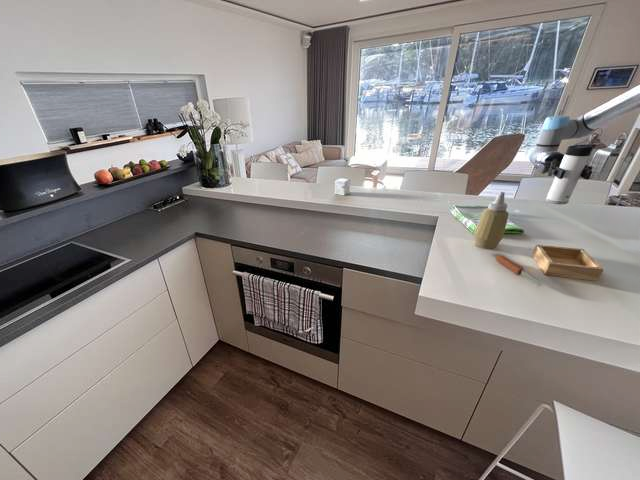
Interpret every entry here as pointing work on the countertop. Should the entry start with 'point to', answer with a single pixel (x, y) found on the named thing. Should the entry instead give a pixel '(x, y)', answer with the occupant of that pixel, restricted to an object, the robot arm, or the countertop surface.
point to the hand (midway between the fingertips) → (575, 175)
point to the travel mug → (569, 173)
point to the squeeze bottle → (492, 224)
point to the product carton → (342, 186)
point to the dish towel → (473, 215)
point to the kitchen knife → (516, 269)
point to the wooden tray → (566, 262)
